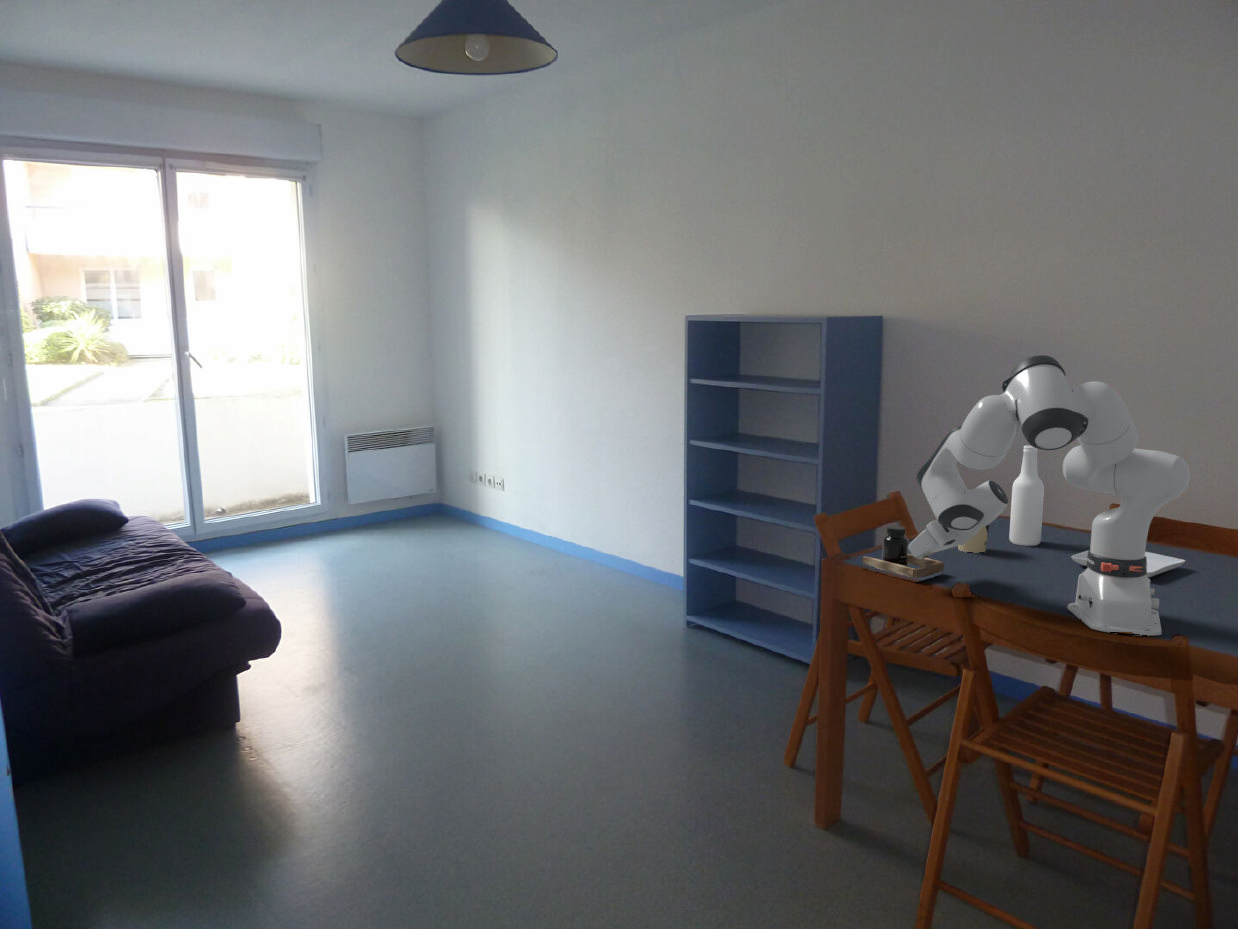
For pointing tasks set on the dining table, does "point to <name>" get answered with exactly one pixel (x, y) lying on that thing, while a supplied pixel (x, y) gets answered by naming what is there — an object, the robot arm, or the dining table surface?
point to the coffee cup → (976, 542)
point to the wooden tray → (924, 570)
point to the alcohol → (1027, 502)
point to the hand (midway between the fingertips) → (920, 556)
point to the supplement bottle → (895, 546)
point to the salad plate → (1154, 562)
